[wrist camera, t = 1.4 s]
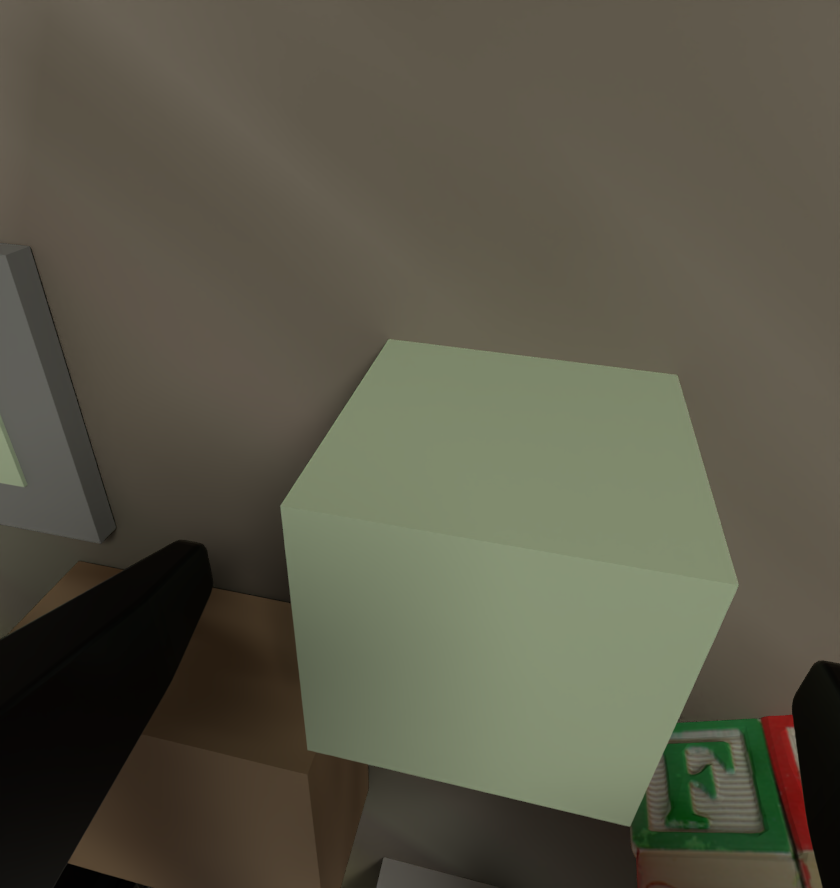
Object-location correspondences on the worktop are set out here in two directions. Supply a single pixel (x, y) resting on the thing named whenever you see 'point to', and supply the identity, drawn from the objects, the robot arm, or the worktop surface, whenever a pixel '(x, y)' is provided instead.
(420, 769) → the sage cube
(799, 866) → the stack of blocks
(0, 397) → the slate card
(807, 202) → the worktop surface
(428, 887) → the grey cube
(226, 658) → the walnut base block
